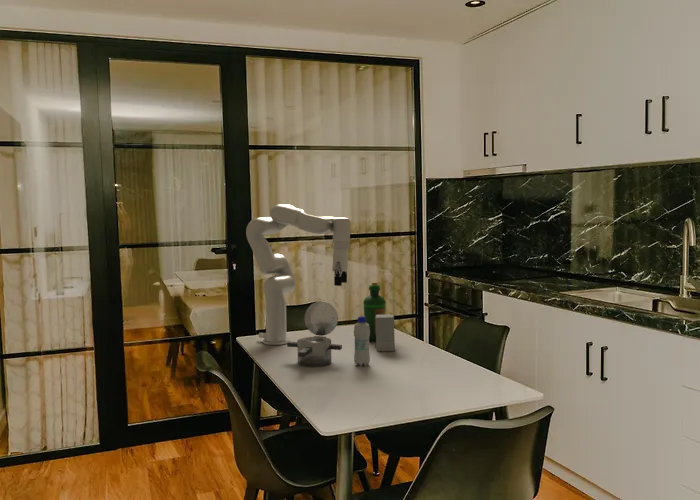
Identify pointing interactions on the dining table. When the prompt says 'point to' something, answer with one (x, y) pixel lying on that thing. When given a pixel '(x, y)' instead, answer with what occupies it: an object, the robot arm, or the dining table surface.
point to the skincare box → (385, 332)
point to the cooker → (314, 351)
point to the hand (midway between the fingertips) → (340, 284)
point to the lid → (321, 318)
